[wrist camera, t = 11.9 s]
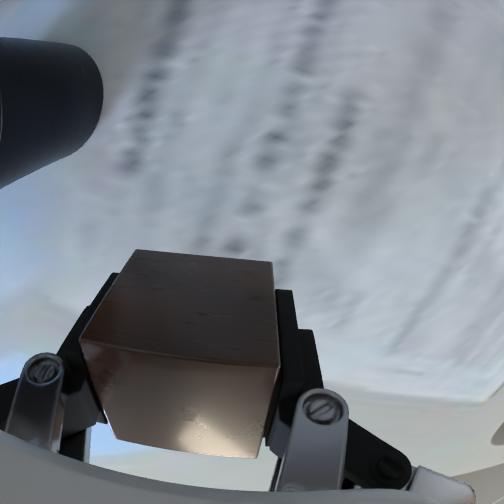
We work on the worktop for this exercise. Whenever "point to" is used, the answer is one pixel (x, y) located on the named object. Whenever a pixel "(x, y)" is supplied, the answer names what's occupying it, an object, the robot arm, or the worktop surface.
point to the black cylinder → (44, 104)
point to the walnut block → (187, 352)
